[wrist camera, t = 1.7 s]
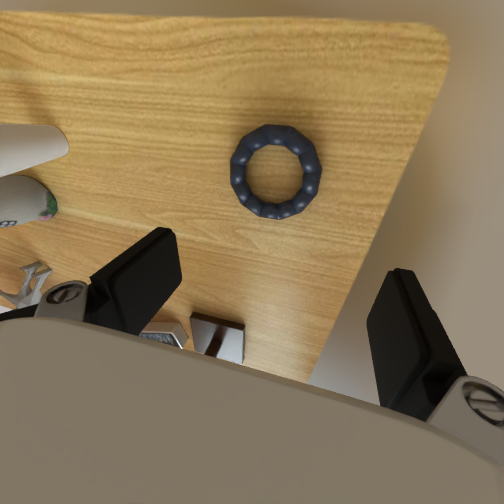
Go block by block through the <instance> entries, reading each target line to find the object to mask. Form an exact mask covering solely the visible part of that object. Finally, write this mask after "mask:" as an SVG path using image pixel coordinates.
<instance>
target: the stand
mask: <svg viewBox="0 0 504 504" xmlns="http://www.w3.org/2000/svg"><path fill="white" fill-rule="evenodd" d="M190 322H191V329H192V336H193V342H194V349H195V351H197V352H200V353H204V355H207V356H211V357H214V358H216V357H217V358H221V359H224V360H228V361H231V362H235V363H238V364H242V363H243V360H244V347H245V325H243V324H239V323H235V322H231V321H227V320H223V319H219V318H216V317H212V316H208V315H204V314H200V313H196V312H193V313H192V314H191V316H190Z"/></svg>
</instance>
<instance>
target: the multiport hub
mask: <svg viewBox="0 0 504 504" xmlns="http://www.w3.org/2000/svg"><path fill="white" fill-rule="evenodd" d="M138 336H139V337H143V338H146V339H150V340H154V341H157V342H161V343H164V344H168V345H172V346H175V347H179V348H183V347H184V345H185V343H186V342H187V340H188V337H187V335H186V333H185V331H184V330H183V328H182V326H181V324H180V323H178V322H149V323H148V324H147V325H146V327H145V328H144V329H143V330H142V332H141V333H140V334H139V335H138Z"/></svg>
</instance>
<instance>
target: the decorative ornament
mask: <svg viewBox="0 0 504 504" xmlns="http://www.w3.org/2000/svg"><path fill="white" fill-rule="evenodd" d="M56 211H57V205H56V200H55V198H54V197H53V195H52V194H51V192H50V191H49V190H47V189H46V188H45V187H44V186H43V185H41V184H40V183H39V182H37V181H36V180H35V179H33V178H30V177H27V176H23V175H6V176H3V177H0V227H10V226H15V225H20V224H24V223H27V222H30V221H32V220H40V221H45V220H48V219H51V218H52V217H53V216H54V215H55V213H56Z"/></svg>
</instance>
